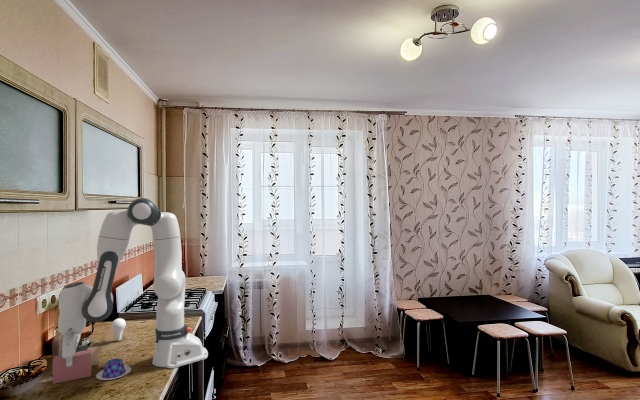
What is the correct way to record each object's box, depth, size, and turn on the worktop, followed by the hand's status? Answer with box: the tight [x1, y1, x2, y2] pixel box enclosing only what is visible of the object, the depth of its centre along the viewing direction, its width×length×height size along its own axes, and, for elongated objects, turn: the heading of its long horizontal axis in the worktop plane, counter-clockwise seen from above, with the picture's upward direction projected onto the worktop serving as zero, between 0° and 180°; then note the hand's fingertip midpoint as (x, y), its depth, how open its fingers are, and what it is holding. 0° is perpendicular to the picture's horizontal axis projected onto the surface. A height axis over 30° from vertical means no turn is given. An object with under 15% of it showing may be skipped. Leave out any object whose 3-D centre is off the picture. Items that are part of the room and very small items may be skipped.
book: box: [52, 350, 93, 385], centre depth 137 cm, size 12×4×9 cm, turn 119°
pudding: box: [95, 357, 132, 381], centre depth 140 cm, size 12×12×5 cm
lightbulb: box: [111, 317, 127, 342], centre depth 174 cm, size 6×6×11 cm
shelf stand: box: [49, 331, 102, 377], centre depth 151 cm, size 16×22×13 cm
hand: (71, 360), depth 136 cm, fingers open, 8 cm apart
